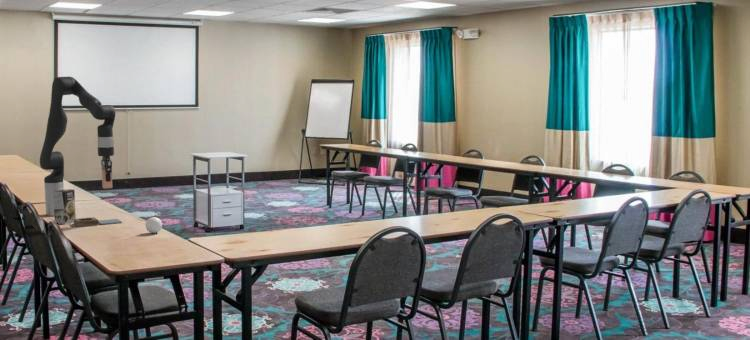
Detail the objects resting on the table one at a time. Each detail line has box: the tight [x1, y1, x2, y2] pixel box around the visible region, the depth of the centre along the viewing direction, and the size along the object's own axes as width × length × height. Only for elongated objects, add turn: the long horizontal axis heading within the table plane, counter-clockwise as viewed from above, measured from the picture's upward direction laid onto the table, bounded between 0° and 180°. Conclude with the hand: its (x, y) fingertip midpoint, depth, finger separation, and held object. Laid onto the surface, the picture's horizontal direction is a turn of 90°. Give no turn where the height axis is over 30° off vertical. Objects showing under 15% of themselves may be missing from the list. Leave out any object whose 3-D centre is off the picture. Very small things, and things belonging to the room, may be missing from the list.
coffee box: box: [53, 189, 77, 225], centre depth 394 cm, size 9×6×16 cm
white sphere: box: [145, 217, 163, 234], centre depth 365 cm, size 10×7×7 cm
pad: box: [98, 218, 123, 226], centre depth 394 cm, size 10×10×1 cm
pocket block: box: [73, 216, 99, 228], centre depth 389 cm, size 10×10×2 cm
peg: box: [101, 169, 113, 190], centre depth 392 cm, size 4×4×9 cm
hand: (107, 180), depth 392 cm, fingers closed on peg, 4 cm apart
